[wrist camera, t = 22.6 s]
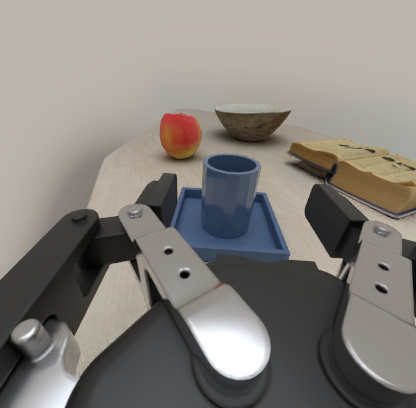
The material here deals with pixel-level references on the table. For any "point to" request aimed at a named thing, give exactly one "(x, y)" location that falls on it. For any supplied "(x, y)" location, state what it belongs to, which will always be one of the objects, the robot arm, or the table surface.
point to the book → (362, 173)
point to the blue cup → (228, 194)
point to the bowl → (251, 120)
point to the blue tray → (242, 246)
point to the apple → (180, 135)
